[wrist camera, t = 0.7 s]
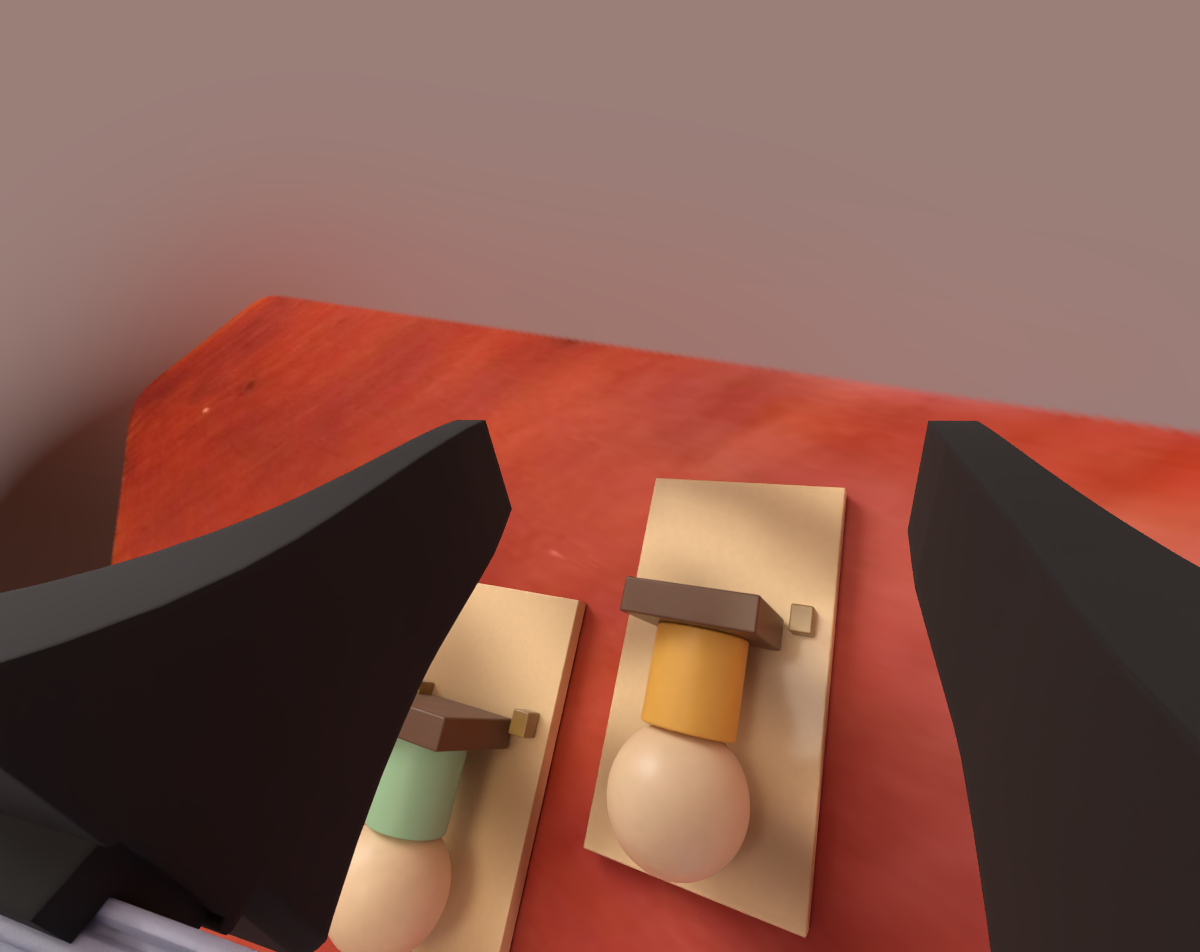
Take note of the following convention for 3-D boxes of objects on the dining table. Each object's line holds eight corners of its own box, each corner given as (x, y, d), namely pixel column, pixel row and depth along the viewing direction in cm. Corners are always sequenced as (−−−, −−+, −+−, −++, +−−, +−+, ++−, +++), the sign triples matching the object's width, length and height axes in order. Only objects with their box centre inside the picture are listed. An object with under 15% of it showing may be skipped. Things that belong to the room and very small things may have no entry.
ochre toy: (753, 888, 19) (717, 929, 15) (626, 840, 21) (567, 864, 17) (784, 618, 21) (760, 594, 18) (669, 600, 24) (625, 575, 20)
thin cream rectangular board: (498, 1000, 22) (471, 1019, 20) (354, 914, 25) (322, 924, 24) (586, 603, 26) (569, 596, 25) (453, 580, 30) (431, 572, 29)
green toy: (455, 963, 22) (363, 1011, 18) (372, 913, 24) (274, 948, 20) (515, 719, 25) (445, 716, 21) (435, 695, 27) (359, 688, 23)
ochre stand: (808, 931, 18) (801, 948, 17) (591, 844, 22) (571, 852, 21) (847, 494, 23) (844, 478, 22) (661, 483, 27) (648, 470, 25)
